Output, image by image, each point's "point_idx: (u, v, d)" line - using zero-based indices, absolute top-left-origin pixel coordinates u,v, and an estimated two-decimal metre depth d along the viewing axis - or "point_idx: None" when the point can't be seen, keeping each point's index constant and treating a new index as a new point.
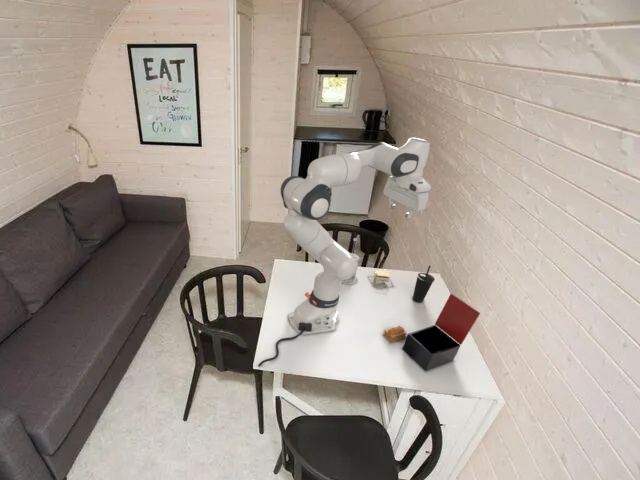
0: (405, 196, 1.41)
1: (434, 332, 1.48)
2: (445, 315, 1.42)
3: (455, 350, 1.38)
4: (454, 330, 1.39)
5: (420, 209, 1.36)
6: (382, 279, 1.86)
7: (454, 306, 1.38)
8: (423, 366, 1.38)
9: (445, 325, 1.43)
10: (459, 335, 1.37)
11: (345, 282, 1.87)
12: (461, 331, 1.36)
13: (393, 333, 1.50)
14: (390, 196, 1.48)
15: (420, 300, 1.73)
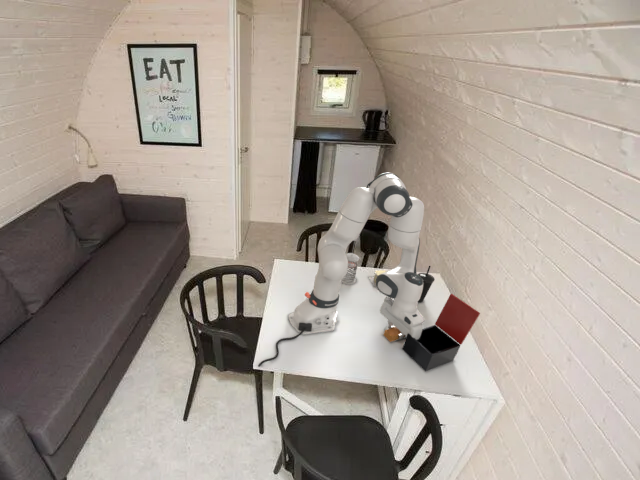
0: (400, 323, 1.46)
1: (434, 332, 1.48)
2: (445, 315, 1.42)
3: (455, 350, 1.38)
4: (454, 330, 1.39)
5: None
6: None
7: (454, 306, 1.38)
8: (423, 366, 1.38)
9: (445, 325, 1.43)
10: (459, 335, 1.37)
11: (345, 282, 1.87)
12: (461, 331, 1.36)
13: (393, 333, 1.50)
14: (386, 317, 1.54)
15: (420, 300, 1.73)
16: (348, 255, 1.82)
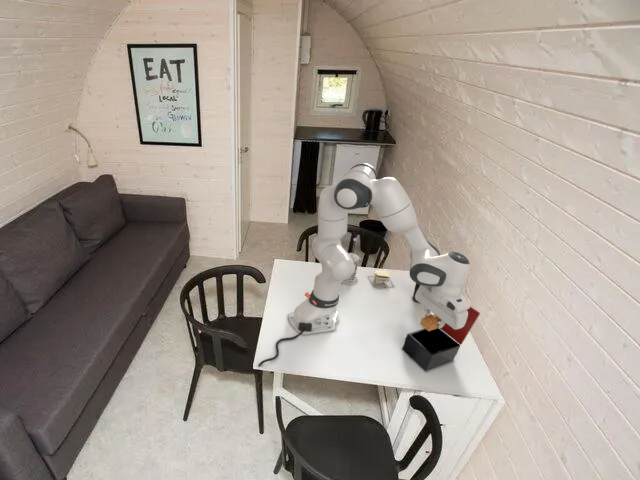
0: (441, 310, 1.30)
1: (434, 332, 1.48)
2: None
3: (455, 350, 1.38)
4: (454, 330, 1.39)
5: (458, 328, 1.25)
6: (382, 279, 1.86)
7: None
8: (423, 366, 1.38)
9: (445, 325, 1.43)
10: (459, 335, 1.37)
11: (345, 282, 1.87)
12: (461, 331, 1.36)
13: (432, 321, 1.33)
14: (423, 303, 1.37)
15: None
16: None
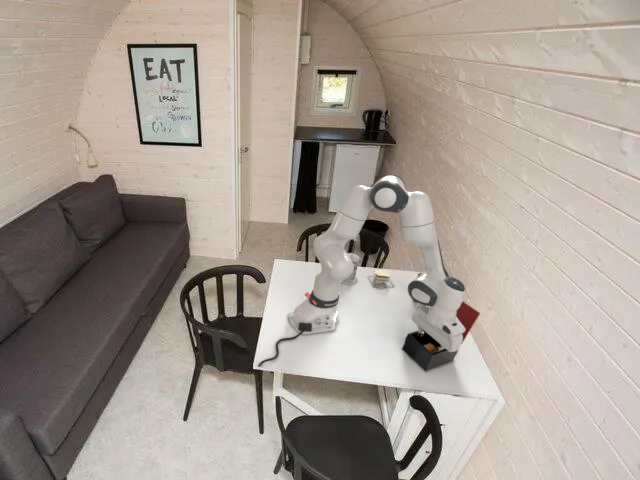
0: (437, 332, 1.34)
1: None
2: None
3: None
4: None
5: (453, 350, 1.29)
6: (382, 279, 1.86)
7: None
8: (423, 366, 1.38)
9: None
10: None
11: (345, 282, 1.87)
12: None
13: None
14: (419, 325, 1.41)
15: None
16: None
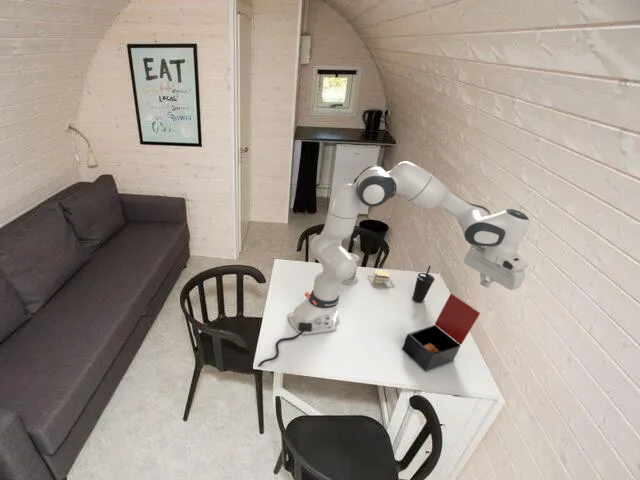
0: (495, 271, 1.26)
1: (434, 332, 1.48)
2: (445, 315, 1.42)
3: (455, 350, 1.38)
4: (454, 330, 1.39)
5: (515, 288, 1.22)
6: (382, 279, 1.86)
7: (454, 306, 1.38)
8: (423, 366, 1.38)
9: (445, 325, 1.43)
10: (459, 335, 1.37)
11: (345, 282, 1.87)
12: (461, 331, 1.36)
13: None
14: (473, 267, 1.34)
15: (420, 300, 1.73)
16: None
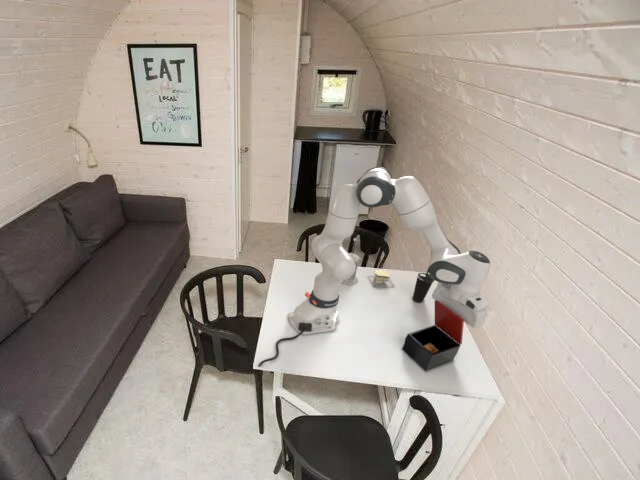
0: (459, 308, 1.31)
1: (434, 332, 1.48)
2: (439, 318, 1.42)
3: (455, 350, 1.38)
4: (450, 332, 1.39)
5: (477, 326, 1.27)
6: (382, 279, 1.86)
7: (442, 312, 1.37)
8: (423, 366, 1.38)
9: (442, 327, 1.42)
10: (456, 337, 1.37)
11: (345, 282, 1.87)
12: (456, 334, 1.36)
13: None
14: (440, 302, 1.38)
15: (420, 300, 1.73)
16: None
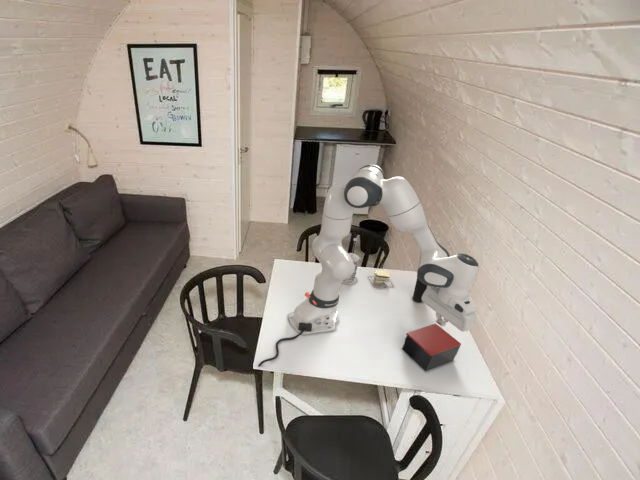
0: (448, 312, 1.29)
1: None
2: None
3: (455, 350, 1.38)
4: None
5: (466, 330, 1.25)
6: (382, 279, 1.86)
7: None
8: (423, 366, 1.38)
9: None
10: None
11: (345, 282, 1.87)
12: None
13: None
14: (430, 305, 1.36)
15: (420, 300, 1.73)
16: None
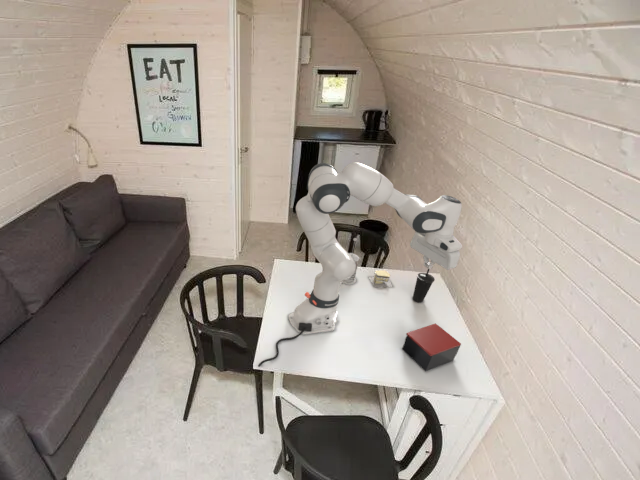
0: (434, 253, 1.37)
1: None
2: None
3: (455, 350, 1.38)
4: None
5: (451, 268, 1.32)
6: (382, 279, 1.86)
7: None
8: (423, 366, 1.38)
9: None
10: None
11: (345, 282, 1.87)
12: None
13: None
14: (417, 250, 1.44)
15: (420, 300, 1.73)
16: None
